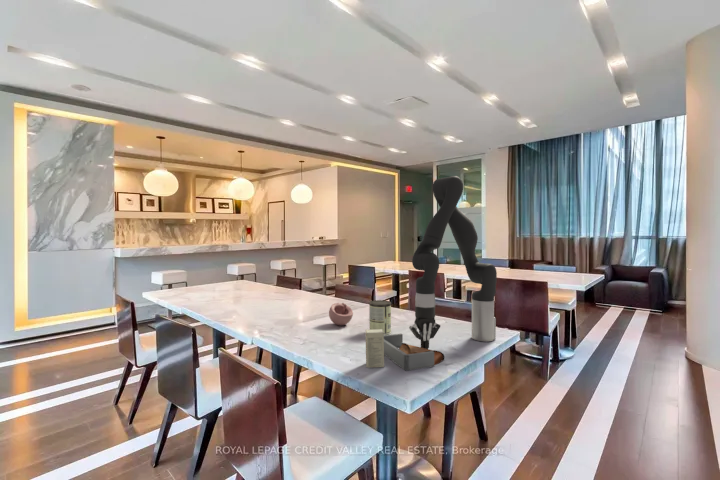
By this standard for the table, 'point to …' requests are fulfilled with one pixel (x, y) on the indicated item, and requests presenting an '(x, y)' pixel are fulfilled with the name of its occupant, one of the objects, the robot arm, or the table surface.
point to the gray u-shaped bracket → (406, 359)
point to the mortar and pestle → (340, 313)
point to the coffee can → (380, 315)
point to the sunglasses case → (414, 349)
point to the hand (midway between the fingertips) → (424, 349)
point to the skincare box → (374, 348)
